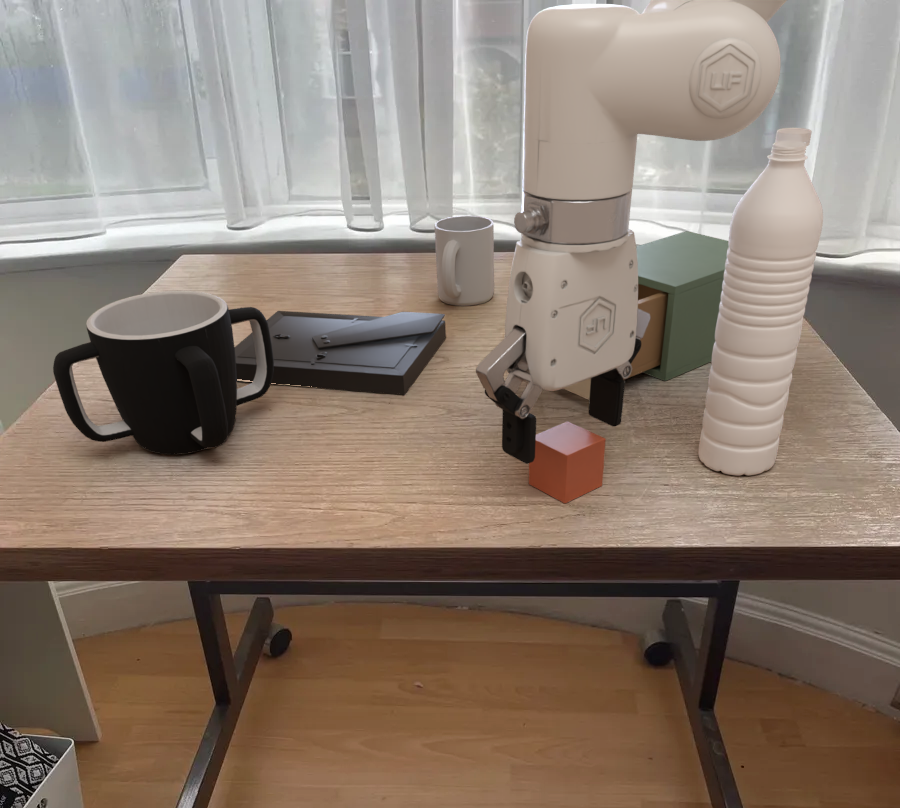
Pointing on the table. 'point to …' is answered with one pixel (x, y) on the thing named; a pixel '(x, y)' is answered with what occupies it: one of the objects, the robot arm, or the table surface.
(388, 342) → the picture frame
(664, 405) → the table surface
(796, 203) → the water bottle
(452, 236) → the cup
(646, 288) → the drawer
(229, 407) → the mug
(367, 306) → the table surface
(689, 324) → the cabinet
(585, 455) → the block
